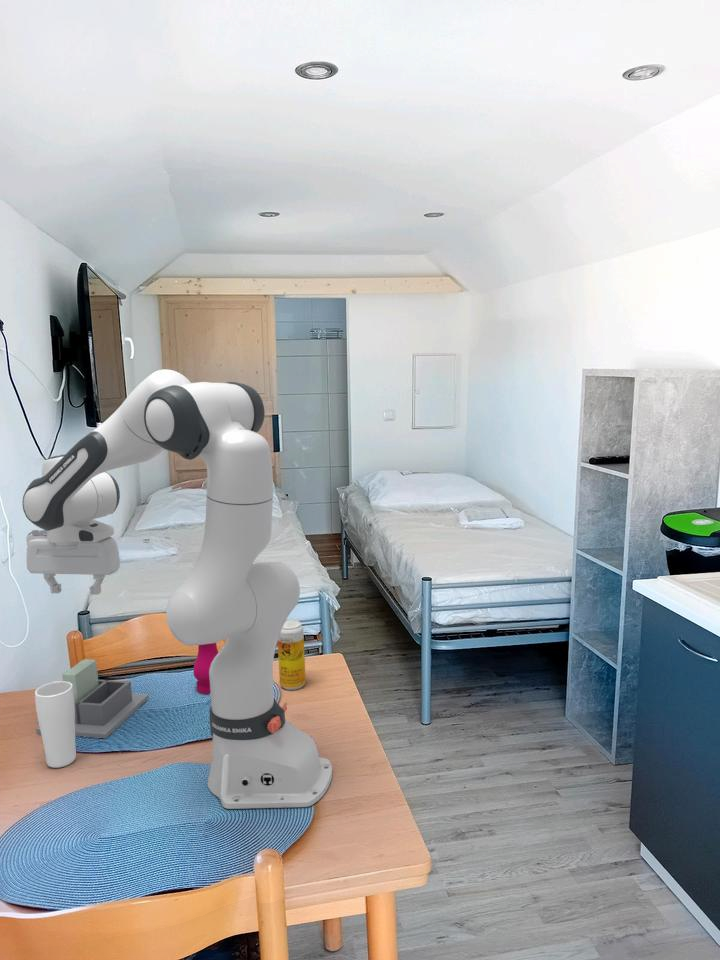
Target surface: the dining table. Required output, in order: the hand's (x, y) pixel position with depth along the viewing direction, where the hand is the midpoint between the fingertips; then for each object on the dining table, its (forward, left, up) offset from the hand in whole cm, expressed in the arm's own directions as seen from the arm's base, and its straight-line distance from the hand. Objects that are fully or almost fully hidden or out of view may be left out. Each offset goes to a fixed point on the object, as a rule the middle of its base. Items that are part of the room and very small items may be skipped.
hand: (76, 593), depth 151 cm
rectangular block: (+1, +1, -27) cm, 27 cm away
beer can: (-41, -19, -28) cm, 53 cm away
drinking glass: (-6, +19, -28) cm, 34 cm away
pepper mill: (-22, -15, -28) cm, 39 cm away
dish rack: (-2, +1, -28) cm, 28 cm away
